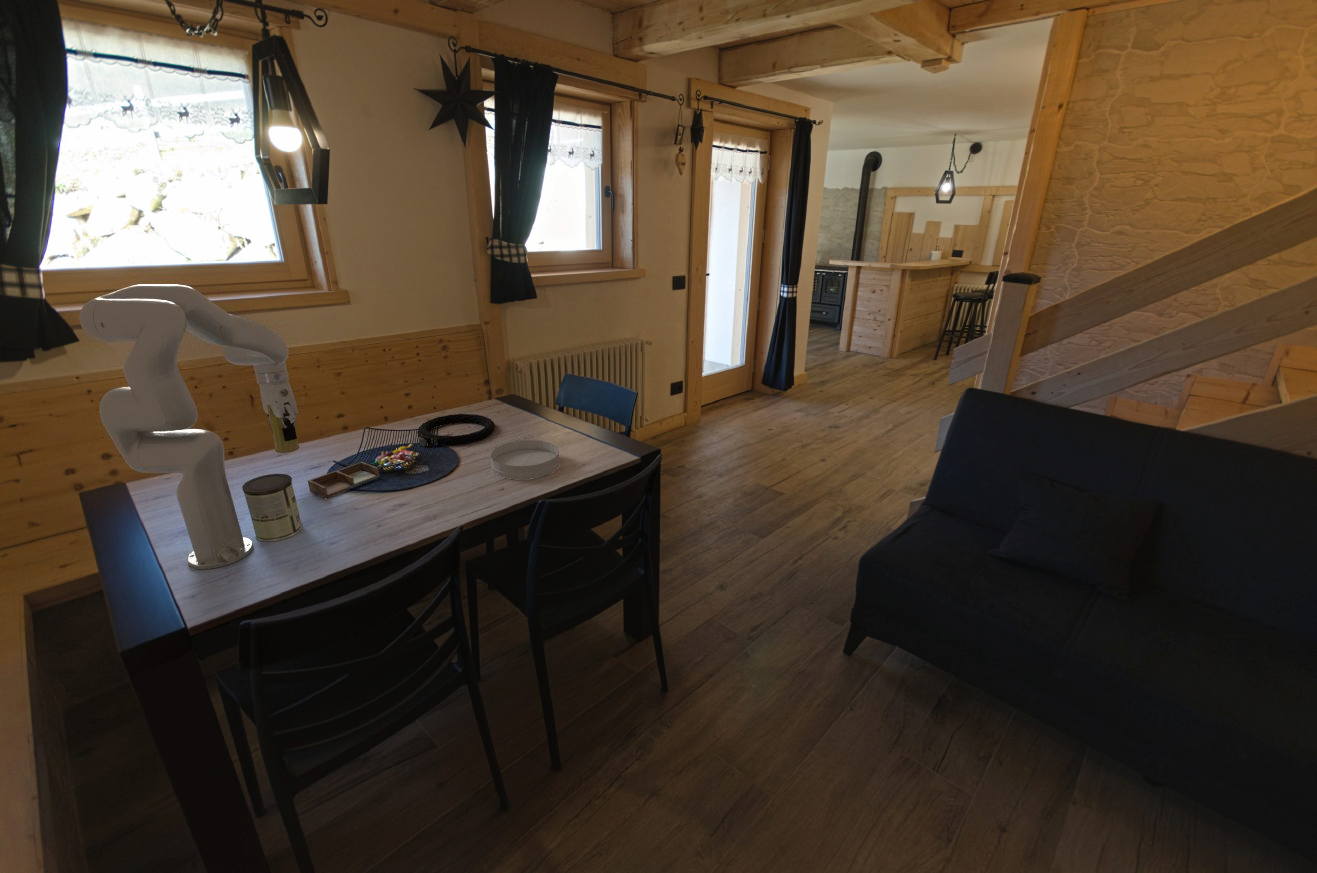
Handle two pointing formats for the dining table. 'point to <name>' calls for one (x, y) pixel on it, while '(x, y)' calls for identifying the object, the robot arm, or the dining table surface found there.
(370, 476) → the wooden compartment tray
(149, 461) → the robot arm
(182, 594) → the dining table surface
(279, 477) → the coffee can
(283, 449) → the vase
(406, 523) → the dining table surface
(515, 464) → the dish
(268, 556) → the dining table surface
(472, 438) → the cable lock
